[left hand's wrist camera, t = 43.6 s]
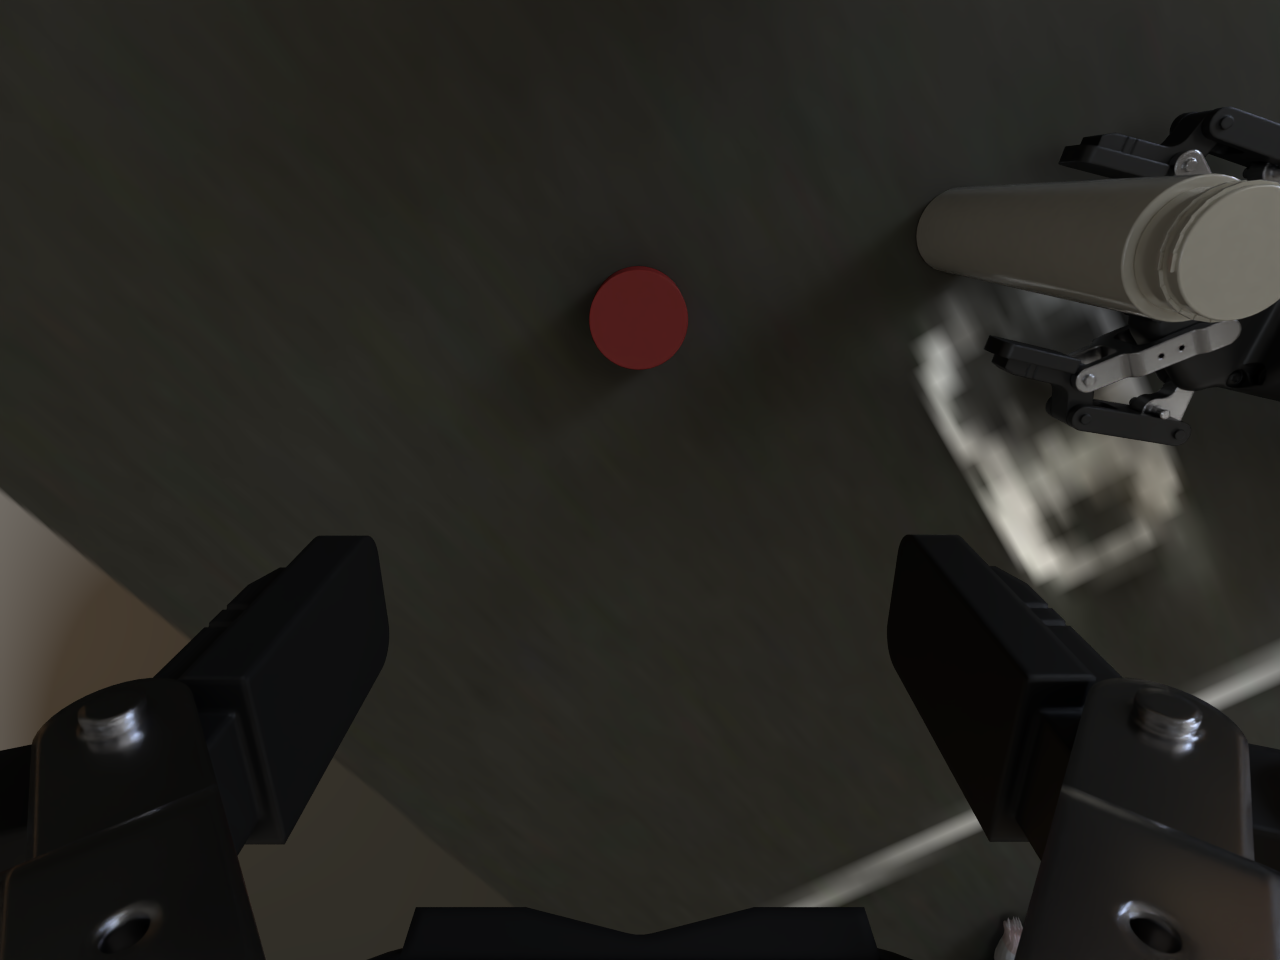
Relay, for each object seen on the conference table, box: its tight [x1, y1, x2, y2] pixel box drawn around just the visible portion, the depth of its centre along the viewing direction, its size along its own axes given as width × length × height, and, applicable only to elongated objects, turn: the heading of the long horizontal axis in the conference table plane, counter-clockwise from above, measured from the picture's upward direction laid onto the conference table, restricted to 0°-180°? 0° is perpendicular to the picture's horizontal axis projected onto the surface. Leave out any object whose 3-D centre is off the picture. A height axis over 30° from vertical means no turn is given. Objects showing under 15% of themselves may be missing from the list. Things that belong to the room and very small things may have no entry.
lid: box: [589, 266, 688, 370], centre depth 38 cm, size 5×5×2 cm
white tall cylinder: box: [916, 174, 1280, 323], centre depth 29 cm, size 4×4×19 cm
